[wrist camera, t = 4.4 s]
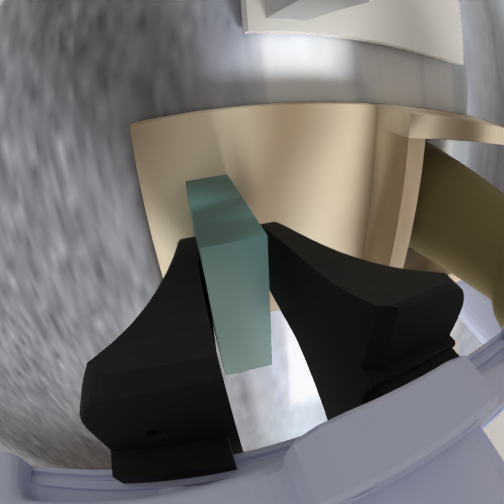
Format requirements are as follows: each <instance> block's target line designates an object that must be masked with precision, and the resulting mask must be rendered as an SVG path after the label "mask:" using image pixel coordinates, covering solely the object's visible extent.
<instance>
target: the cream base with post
mask: <svg viewBox="0 0 504 504" xmlns="http://www.w3.org/2000/svg"><path fill="white" fill-rule="evenodd" d="M241 13H242V26H243V34H246V33H279V34H301V35H315V36H326V37H335V38H343V39H350V40H357V41H363V42H369V43H374V44H380V45H385V46H389V47H394V48H398V49H403V50H407V51H411V52H415V53H419V54H422V55H426V56H429V57H433V58H436V59H439V60H443V61H446V62H449V63H452V64H457V65H464V58H463V36H462V23H461V13H460V4H459V0H241Z"/></svg>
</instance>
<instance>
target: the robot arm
mask: <svg viewBox="0 0 504 504" xmlns="http://www.w3.org/2000/svg"><path fill="white" fill-rule="evenodd" d="M260 225H261V226H262V228H263V230H264V231H265V233H266V234H267V240H268V264H269V290H270V292H271V294H272V296H273V298H274V299H275V301H276V303H277V305H278V307H279V308H280V310H281V312H282V314H283V315H284V317H285V319H286V321H287V322H288V324H289V326H290V328H291V329H292V331H293V333H294V335H295V337H296V339H297V341H298V343H299V345H300V348H301V350H302V352H303V355H304V357H305V360H306V362H307V365H308V367H309V370H310V372H311V375H312V377H313V380H314V382H315V385H316V388H317V391H318V393H319V396H320V399H321V402H322V404H323V407H324V410H325V413H326V416H327V419H328V421H326V422H324V423H322V424H319V425H317V426H316V427H314V428H313V429H311V430H310V431H308V432H307V433H305V434H304V435H302V436H300V437H297V438H294V439H291V440H287V441H284V442H281V443H277V444H274V445H270V446H267V447H263V448H259V449H255V450H251V451H247V452H243V449H242V446H241V443H240V439H239V436H238V432H237V429H236V425H235V422H234V418H233V414H232V411H231V407H230V403H229V400H228V396H227V392H226V388H225V384H224V380H223V377H222V373H221V369H220V365H219V361H218V357H217V352H216V345H215V337H214V330H213V322H212V316H211V312H210V307H209V302H208V297H207V292H206V287H205V282H204V277H203V272H202V267H201V261H200V256H199V251H198V246H197V242H196V238H195V236H194V237H189V238H184V239H180V240H179V241H178V243H177V247H176V250H175V253H174V256H173V259H172V261H171V263H170V265H169V268H168V270H167V272H166V274H165V276H164V278H163V280H162V282H161V283H160V285H159V287H158V289H157V290H156V292H155V294H154V295H153V297H152V298H151V300H150V301H149V303H148V304H147V306H146V307H145V308H144V310H143V311H142V312H141V313H140V314H139V316H138V317H137V318H136V319H135V320H134V322H133V323H132V324H131V325H130V326H129V327H128V328H127V329H126V330H125V331H124V332H123V333H122V334H121V335H120V336H119V337H118V338H117V339H116V340H115V341H114V342H112V343H111V344H110V345H109V346H108V347H107V348H105V349H104V350H103V351H102V352H100V353H99V354H98V355H97V356H95V357H94V358H93V359H92V360H90V361H89V362H88V363H87V366H86V370H85V374H84V378H83V384H82V392H81V403H80V417H81V421H82V423H83V424H84V425H85V426H86V428H87V429H88V430H89V431H90V432H91V433H92V434H93V435H95V436H96V437H97V438H98V439H99V440H100V441H101V442H102V443H104V444H105V445H106V446H107V447H108V448H109V449H111V460H112V470H84V469H61V468H49V467H39V466H31V465H30V464H29V463H28V462H27V461H25V460H24V459H22V458H20V457H19V456H16V455H14V454H11V453H6V452H0V504H504V461H503V460H502V458H501V457H500V455H499V453H498V452H497V450H496V449H495V447H494V446H493V444H492V443H491V441H490V440H489V438H488V437H487V435H486V434H485V432H484V431H483V429H484V428H485V427H486V426H487V425H488V424H489V423H491V422H492V421H493V420H494V419H495V418H496V417H497V416H498V415H499V414H500V413H501V412H502V411H503V410H504V325H503V327H502V329H501V327H500V325H499V324H498V322H497V320H496V318H495V315H494V311H493V306H492V301H491V300H490V299H489V298H487V297H486V296H484V295H483V294H481V293H480V292H479V291H477V290H476V289H474V288H473V287H471V286H470V285H468V284H467V283H465V282H464V281H462V280H460V281H458V282H456V283H455V282H454V281H453V280H452V279H451V278H450V277H449V276H448V275H447V274H446V273H439V272H427V271H416V270H409V269H402V268H396V267H391V266H386V265H382V264H378V263H374V262H370V261H366V260H363V259H359V258H356V257H353V256H350V255H348V254H345V253H342V252H339V251H337V250H334V249H332V248H330V247H327V246H325V245H323V244H320V243H318V242H316V241H314V240H312V239H310V238H308V237H306V236H304V235H302V234H300V233H298V232H296V231H294V230H292V229H290V228H288V227H286V226H284V225H282V224H280V223H278V222H269V223H263V224H260ZM458 317H459V318H460V319H461V320H462V321H463V322H464V324H465V325H466V326H467V327H468V328H469V329H470V330H471V331H472V332H473V333H474V334H475V335H476V337H477V338H478V339H479V340H480V341H481V342H482V343H483V344H484V345H482V346H481V347H479V348H478V349H477V350H475V351H474V352H472V353H471V354H469V355H468V356H459V355H458V354H457V353H456V352H455V351H454V349H452V347H454V345H455V341H454V339H453V338H452V337H451V336H450V333H451V331H452V329H453V327H454V325H455V323H456V321H457V319H458Z"/></svg>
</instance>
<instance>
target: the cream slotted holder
mask: <svg viewBox="0 0 504 504" xmlns="http://www.w3.org/2000/svg"><path fill="white" fill-rule="evenodd" d="M129 128H130V134H131V140H132V146H133V152H134V157H135V162H136V168H137V173H138V178H139V182H140V187H141V192H142V197H143V201H144V206H145V210H146V214H147V219H148V223H149V227H150V231H151V235H152V239H153V243H154V247H155V251H156V254H157V258H158V262H159V265H160V269H161V273H162V276H163V278H164V276H165V274H166V272H167V270H168V268H169V265H170V263H171V261H172V259H173V256H174V253H175V250H176V247H177V243H178V241H179V240H180V239H184V238H189V237H194V236H195V238H196V242H197V246H198V251H199V256H200V261H201V267H202V272H203V277H204V282H205V287H206V292H207V297H208V302H209V307H210V312H211V316H212V322H213V327H214V331H215V335H216V339H217V343H218V347H219V351H220V355H221V359H222V363H223V367H224V370H225V374H226V375H230V374H235V373H239V372H243V371H247V370H251V369H255V368H259V367H263V366H267V365H271V364H272V354H271V320H270V312H271V311H275V310H279V309H280V308H279V307H278V305H277V303H276V301H275V299H274V298H273V296H272V294H271V292H270V290H269V264H268V240H267V234H266V233H265V231H264V230H263V228H262V226H261V225H260V224H263V223H269V222H278V223H280V224H282V225H284V226H286V227H288V228H290V229H292V230H294V231H296V232H298V233H300V234H302V235H304V236H306V237H308V238H310V239H312V240H314V241H316V242H318V243H320V244H323V245H325V246H327V247H330V248H332V249H334V250H337V251H339V252H342V253H345V254H348V255H350V256H353V257H356V258H359V259H363V260H366V261H370V262H374V263H378V264H382V265H386V266H391V267H396V268H402V269H409V270H416V271H427V272H439V273H446V274H447V275H448V276H449V277H450V278H451V279H452V280H453V281H454V282H455V283H456V282H458V281H460V280H461V279H459V278H458V277H456V276H455V275H453V274H451V273H450V272H448V271H447V270H445V269H444V268H442V267H440V266H439V265H437V264H436V263H434V262H433V261H431V260H429V259H428V258H426V257H424V256H423V255H421V254H420V253H418V252H416V251H415V250H414V251H410V252H407V250H408V246H409V241H410V236H411V232H412V227H413V222H414V217H415V211H416V206H417V200H418V194H419V188H420V181H421V174H422V166H423V158H424V149H425V139H444V140H459V141H471V142H482V143H492V144H500V145H504V127H502V126H499V125H496V124H493V123H491V122H488V121H485V120H482V119H479V118H476V117H473V116H469V115H464V114H458V113H453V112H446V111H440V110H433V109H426V108H418V107H409V106H399V105H387V104H373V103H351V102H293V103H272V104H257V105H245V106H234V107H225V108H216V109H208V110H201V111H194V112H187V113H181V114H175V115H169V116H164V117H158V118H153V119H148V120H143V121H139V122H134V123H131V124H130V125H129Z"/></svg>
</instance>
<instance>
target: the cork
mask: <svg viewBox="0 0 504 504" xmlns="http://www.w3.org/2000/svg"><path fill="white" fill-rule="evenodd" d="M408 247H410V248H411V249H413V250H415V251H416V252H418V253H420V254H421V255H423V256H424V257H426V258H428V259H429V260H431V261H433V262H434V263H436V264H437V265H439V266H440V267H442V268H444V269H445V270H447V271H448V272H450V273H451V274H453V275H455V276H456V277H458V278H459V279H461V280H462V281H464V282H465V283H467V284H468V285H470V286H471V287H473V288H474V289H476V290H477V291H479V292H480V293H481V294H483V295H484V296H486V297H487V298H489V299H490V300H491V301H492V306H493V311H494V315H495V318H496V320H497V322H498V324H499V325H500V327H501V329H502V327H503V325H504V194H503V193H502V192H500V191H499V190H498V189H497V188H495V187H494V186H493V185H491V184H490V183H489V182H487V181H486V180H485V179H483V178H482V177H480V176H479V175H478V174H476V173H475V172H473V171H472V170H470V169H469V168H468V167H466V166H465V165H463V164H462V163H460V162H459V161H457V160H456V159H454V158H452V157H451V156H449V155H448V154H446V153H445V152H443V151H441V150H440V149H438V148H437V147H435V146H433V145H432V144H429V143H425V149H424V158H423V166H422V174H421V181H420V188H419V194H418V200H417V206H416V211H415V217H414V222H413V227H412V232H411V236H410V241H409V246H408Z"/></svg>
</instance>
